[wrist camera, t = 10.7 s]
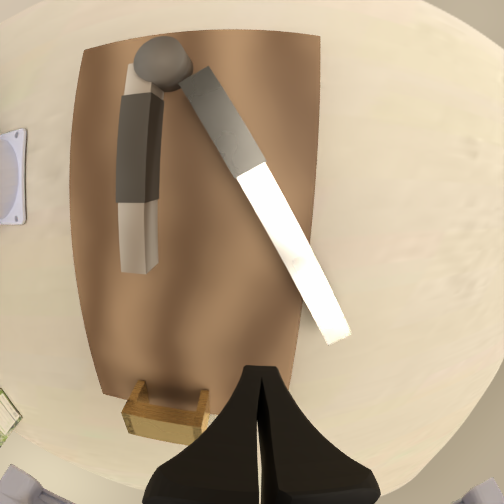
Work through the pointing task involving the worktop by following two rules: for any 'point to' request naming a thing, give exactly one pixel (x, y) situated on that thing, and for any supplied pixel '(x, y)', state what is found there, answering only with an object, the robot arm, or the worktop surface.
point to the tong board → (188, 211)
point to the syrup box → (7, 417)
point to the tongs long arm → (265, 198)
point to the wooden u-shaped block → (164, 418)
